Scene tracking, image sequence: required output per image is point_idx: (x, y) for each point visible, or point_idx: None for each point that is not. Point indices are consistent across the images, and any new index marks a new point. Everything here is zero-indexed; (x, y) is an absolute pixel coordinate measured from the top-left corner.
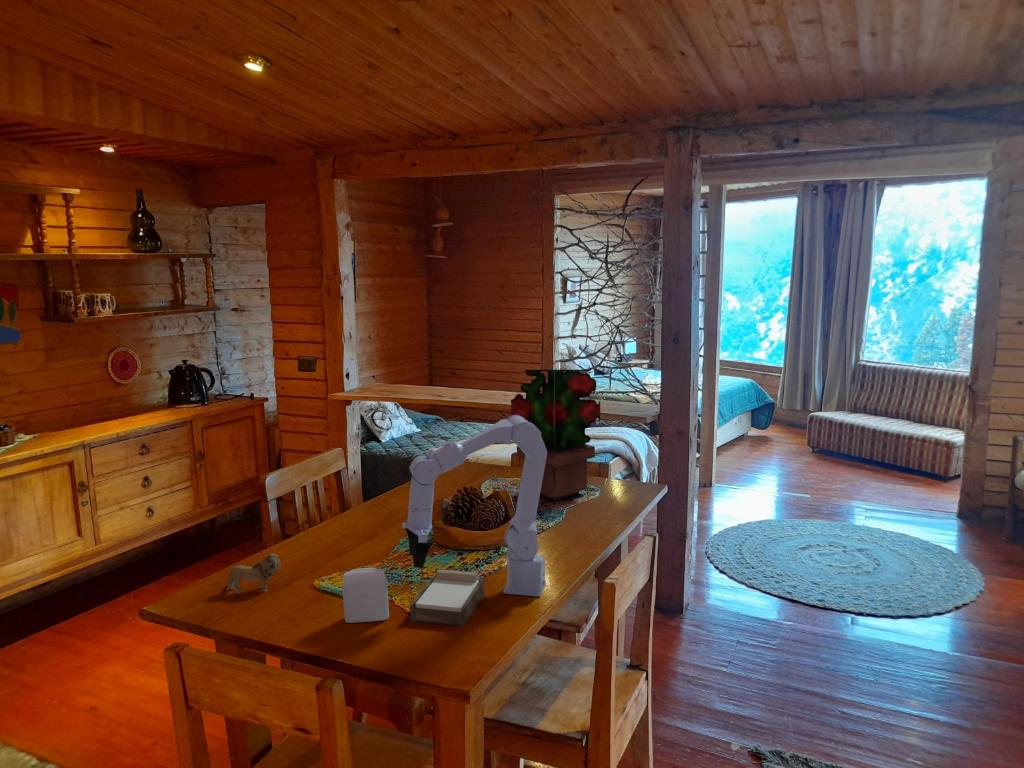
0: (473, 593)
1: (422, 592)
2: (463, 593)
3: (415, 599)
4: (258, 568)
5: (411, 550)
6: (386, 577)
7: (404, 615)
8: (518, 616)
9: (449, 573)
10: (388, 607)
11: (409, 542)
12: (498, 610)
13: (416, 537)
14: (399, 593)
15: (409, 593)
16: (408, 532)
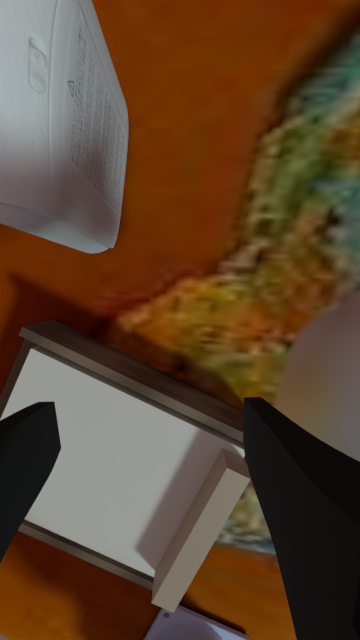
0: (70, 550)
1: (119, 382)
2: (77, 519)
3: (65, 351)
4: None
5: (252, 419)
6: (11, 223)
7: (95, 303)
8: (24, 603)
9: (200, 513)
10: (77, 249)
11: (276, 443)
12: (69, 564)
13: (292, 544)
14: (260, 299)
15: (250, 332)
16: (329, 522)
